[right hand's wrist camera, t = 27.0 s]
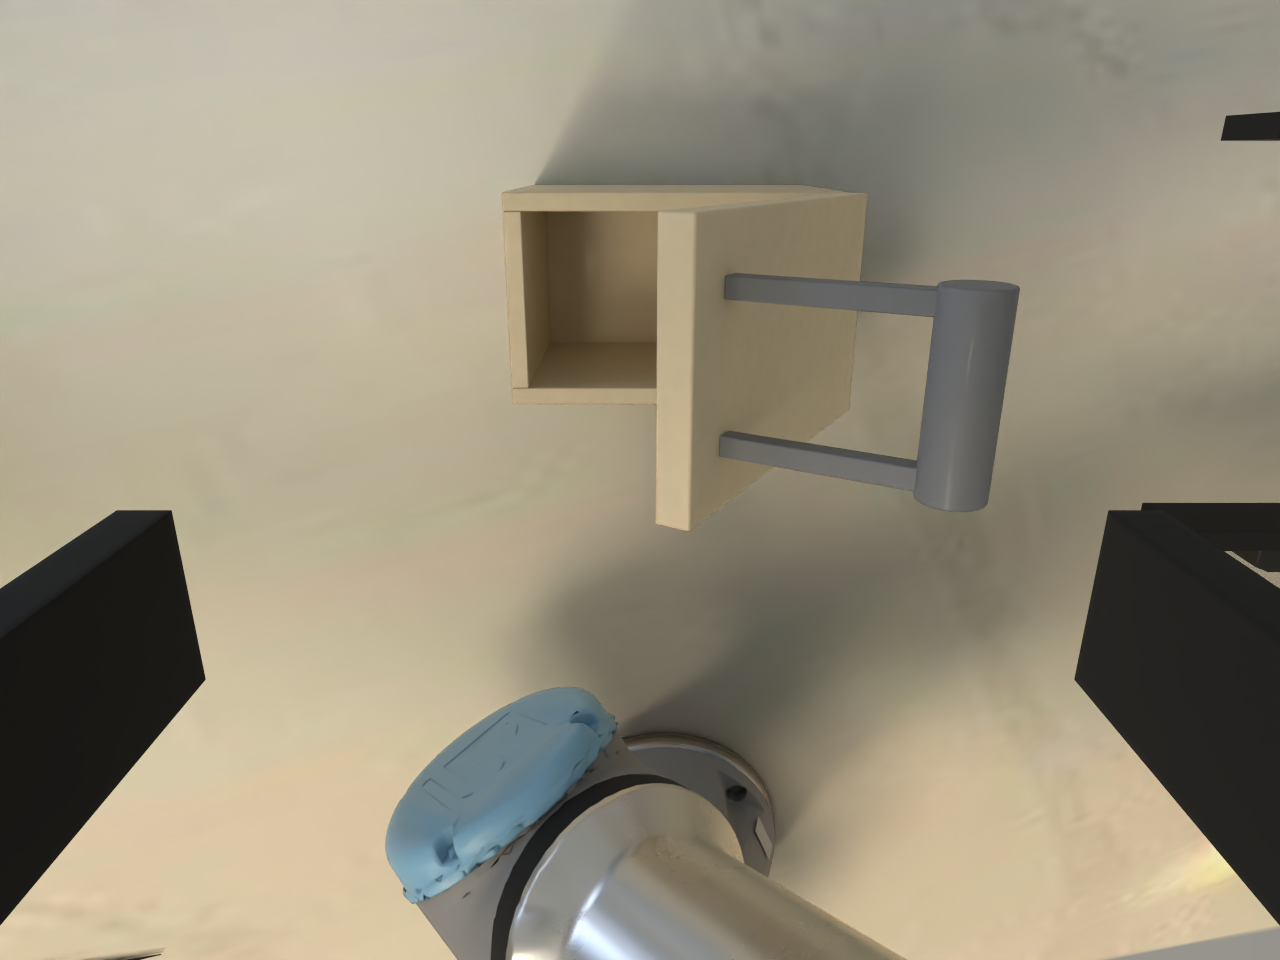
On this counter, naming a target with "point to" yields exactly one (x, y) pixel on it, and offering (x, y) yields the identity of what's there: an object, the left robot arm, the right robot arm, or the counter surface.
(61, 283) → the counter surface
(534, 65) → the counter surface
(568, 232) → the chest
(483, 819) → the left robot arm
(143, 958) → the feather
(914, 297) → the lid
